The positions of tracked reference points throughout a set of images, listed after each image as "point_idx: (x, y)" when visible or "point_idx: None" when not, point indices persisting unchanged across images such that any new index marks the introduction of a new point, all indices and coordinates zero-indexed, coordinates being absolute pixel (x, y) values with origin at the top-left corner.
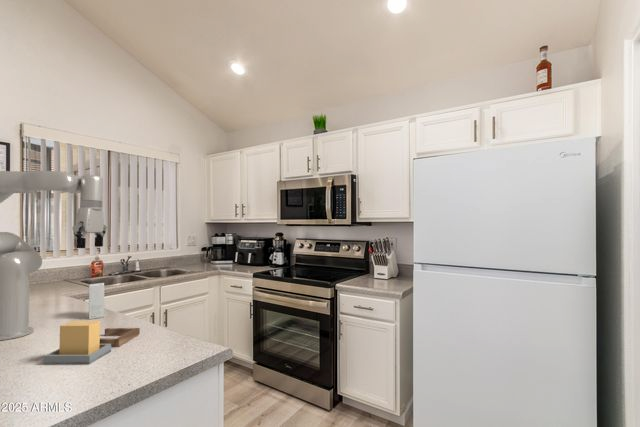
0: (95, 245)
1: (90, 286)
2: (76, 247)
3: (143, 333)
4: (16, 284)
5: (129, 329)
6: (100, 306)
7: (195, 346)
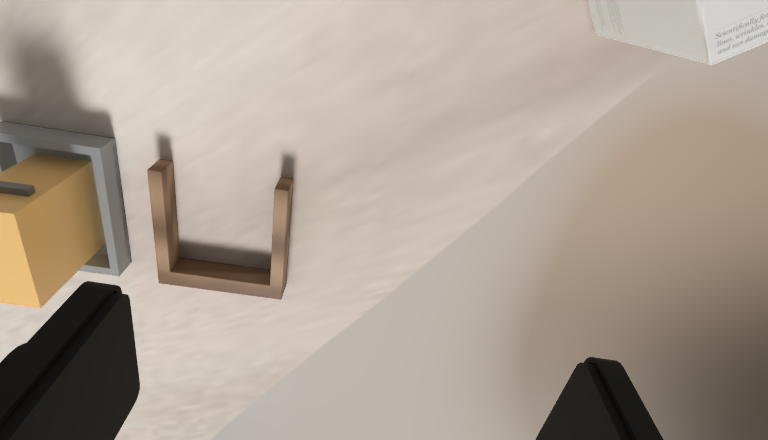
0: (582, 382)
1: None
2: (83, 284)
3: (298, 291)
4: None
5: (271, 272)
6: (618, 24)
7: (185, 426)
